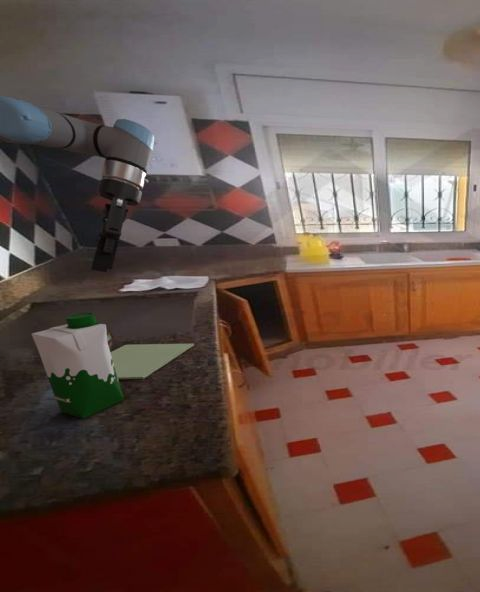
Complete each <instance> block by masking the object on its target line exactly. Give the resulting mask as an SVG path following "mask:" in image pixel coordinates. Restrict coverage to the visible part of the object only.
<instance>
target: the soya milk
mask: <svg viewBox="0 0 480 592" xmlns="http://www.w3.org/2000/svg"><path fill="white" fill-rule="evenodd" d="M65 320H66V324H62V325H58V326H53V327H50V328H48V329H44V330H40V331H37V332H36V331H35V332H33V333H31V336H32V339H33V341H34V344H35V346H36V349H37V351H38V353H39V354H38V355H39V357H40V359H41V362H42V364H43V368H44V370H45V373H46V376H47V378H48V382H49V384H50V387H51V390H52V393H53V396H54V398H55V400H56V402H57V404H58V406H59V408H60V411H61V412H62V413H64V414H67V415H70V416H74V417H77V418H80V419H82V420H85V419H86V418H88V417H90V416H92V415H94V414H97V413H99V412H100V411H103V410H105V409H107V408H109V407H111V406H113V405H115V404H117V403H120V402H122V401H123V400H125V398H124V394H123V391H122V388H121V384H120V381H119V379H118V378H117V374H116V371H115V367H114V364H113V360H112V357H111V353H110V352H111V349H110V350H109V346H108V343H107V332H106V329H107V325H106V324H105V323H102V322H99V321H97V319H96V315H95V313H94V312H82V313H81V312H80V313H75V314H72V315H68V316H66V317H65Z"/></svg>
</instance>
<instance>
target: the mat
mask: <svg viewBox="0 0 480 592" xmlns="http://www.w3.org/2000/svg"><path fill="white" fill-rule="evenodd" d="M194 346H195V343H148V344H147V343H144V344H143V343H142V344H135V343H134V344H124V345H122V346H120V347H118V348H116V349H114V350H112V351H110V353H111V357H112V360H113V364H114V367H115V371H116V374H117V378H118V380H145V378H147V377H149V376H150V375H152V374H153V373H154V372H156V371H158V370H159V369H161V368H162V367H164V366H165V365H168V364H169V362H172V361H173V360H174V359H176V358H177V357H179V356H180V355H182V354H183V353H185V352H186V351H188V350H189V349H191V348H192V347H194Z"/></svg>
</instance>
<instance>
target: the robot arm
mask: <svg viewBox="0 0 480 592" xmlns="http://www.w3.org/2000/svg"><path fill="white" fill-rule="evenodd" d="M0 143H8V144H9V143H11V144H22V145H23V144H26V145H36V146H41V147H42V146H43V147H49V148H54V149H59V150H63V151H68V152H71V153H79V154H83V155H88V156H92V157H93V156H94V157H99V158H104V159H105V160H104V162H103V166H102V170H101V173H100V177H101V179H99V183H98V186H97V190H96V193H97V195H98V196H100V197H102V198H103V199H105V200H109V201H110V203H105V205H103V211H102V213H103V216H102V219H101V220H102V223H103V225H102V228H101V231H98V235H97V236H98V237H99V239H97V245H96V249H95V253H94V257H93V261H92V264H91V271H96V272H103V273H108V270H113V265H114V262H115V258H116V255H117V254H116V253H117V251H118V246H119V240H120V239H121V236H122V229H123V225H124V223H125V221H126V217H127V216H128V212H129V209H128V208H127V206H131V207H132V206H133V207H135V206H136V207H137V206H139V205H140V203H141V199H142V195H143V191H141V190H143V189H144V186H145V184H148V183H149V179H147V178H146V177H147V174H148V168H149V165H150V160H151V158H152V153H153V152H154V145H155V135H154V133H153V132H152V131H151V130H150V129H149V128H147V127H146V126H145V125H142V124H141V123H138V122H136V121H134V120H130V119H127V118H122V119H121V118H117V119H116V120H115V121H114V123H113V125H112V126H110V125H103V124H100V123H99V124H98V123H95V122H91V121H89V120H88V121H87V120H84V119H80V118H77V117H74V116H70V115H67V114H64V113H61V112H57V111H54V110H52V109H48V108H45V107H41V106H39V105H36V104H32V103H30V102H28V101H25V100H22V99H19V98H15V97H9V96H5V95H0Z"/></svg>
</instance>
